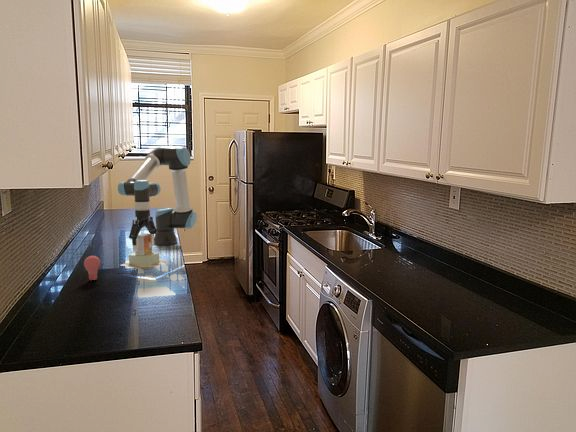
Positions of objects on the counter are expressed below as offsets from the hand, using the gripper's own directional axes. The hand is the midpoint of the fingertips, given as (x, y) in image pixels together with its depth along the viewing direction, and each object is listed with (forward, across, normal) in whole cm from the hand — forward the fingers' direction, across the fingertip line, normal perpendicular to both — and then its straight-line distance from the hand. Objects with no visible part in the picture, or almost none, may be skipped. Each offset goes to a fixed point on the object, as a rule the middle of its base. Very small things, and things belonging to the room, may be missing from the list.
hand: (143, 248), depth 235 cm
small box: (+3, 0, 0) cm, 3 cm away
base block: (+8, 0, 0) cm, 8 cm away
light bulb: (+9, +32, -5) cm, 34 cm away
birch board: (+9, 0, 0) cm, 9 cm away
